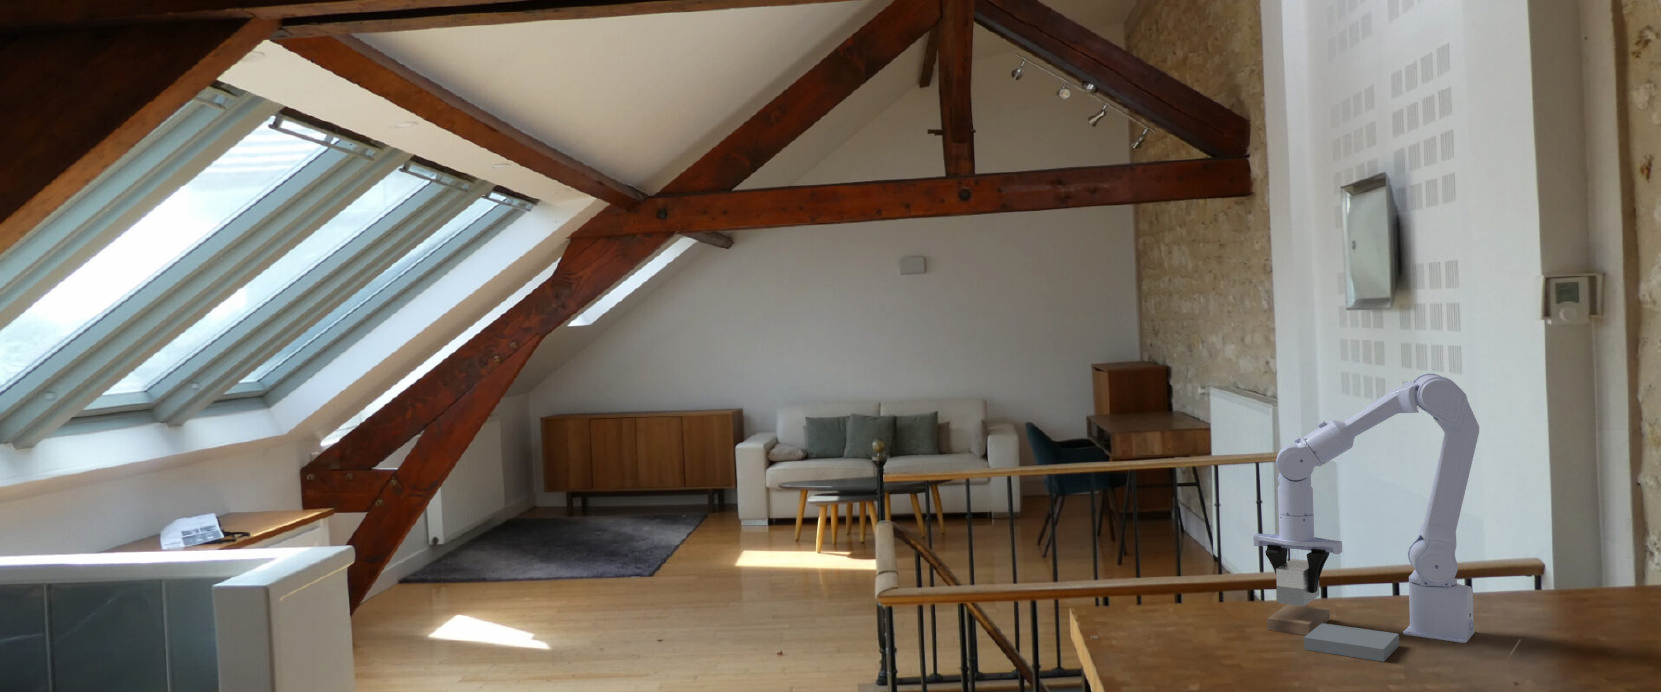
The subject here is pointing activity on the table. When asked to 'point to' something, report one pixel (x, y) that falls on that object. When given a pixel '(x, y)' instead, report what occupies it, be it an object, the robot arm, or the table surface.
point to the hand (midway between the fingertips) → (1298, 589)
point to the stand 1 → (1297, 619)
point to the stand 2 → (1352, 642)
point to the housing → (1294, 583)
